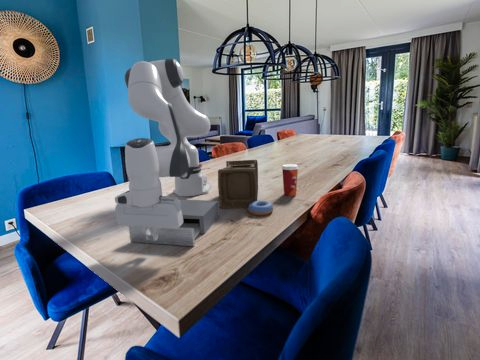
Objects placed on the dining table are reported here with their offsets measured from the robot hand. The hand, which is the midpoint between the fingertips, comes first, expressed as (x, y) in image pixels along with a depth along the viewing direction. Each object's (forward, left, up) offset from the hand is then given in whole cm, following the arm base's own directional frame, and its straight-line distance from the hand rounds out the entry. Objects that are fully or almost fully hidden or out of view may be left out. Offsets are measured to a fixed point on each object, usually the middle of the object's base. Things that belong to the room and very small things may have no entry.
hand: (152, 239), depth 88 cm
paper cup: (-62, +36, -4) cm, 72 cm away
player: (-22, 0, -4) cm, 23 cm away
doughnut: (-37, +26, -4) cm, 46 cm away
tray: (-12, 0, -4) cm, 13 cm away
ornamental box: (-58, +14, -4) cm, 59 cm away
